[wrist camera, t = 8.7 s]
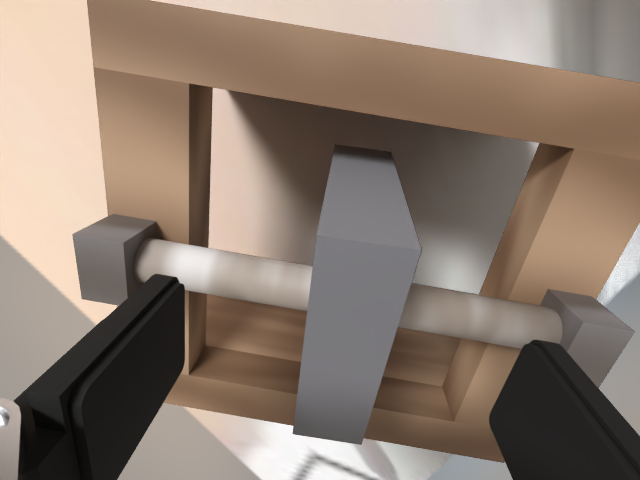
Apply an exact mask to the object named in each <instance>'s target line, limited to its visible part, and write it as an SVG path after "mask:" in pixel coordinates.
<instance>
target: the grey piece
mask: <svg viewBox="0 0 640 480" xmlns="http://www.w3.org/2000/svg"><path fill="white" fill-rule="evenodd" d="M420 253H421V247H420V243H419V240H418V237H417V234H416V231H415V227H414V224H413V221H412V218H411V215H410V212H409V208H408V205H407V202H406V199H405V196H404V193H403V189H402V186H401V183H400V180H399V177H398V174H397V170H396V167H395V164H394V161H393V158H392V154H391V152H387V151H380V150H372V149H365V148H357V147H350V146H342V145H335V148H334V153H333V158H332V162H331V167H330V172H329V177H328V182H327V186H326V191H325V196H324V201H323V206H322V210H321V215H320V220H319V225H318V229H317V234H316V242H315V250H314V259H313V267H312V276H311V284H310V293H309V301H308V309H307V318H306V326H305V335H304V343H303V352H302V360H301V368H300V377H299V385H298V394H297V402H296V411H295V419H294V427H293V434H296V435H302V436H309V437H315V438H322V439H328V440H334V441H341V442H347V443H354V444H360V445H361V444H362V441H363V438H364V435H365V431H366V428H367V425H368V422H369V419H370V415H371V412H372V409H373V406H374V402H375V399H376V396H377V393H378V389H379V386H380V383H381V380H382V376H383V373H384V370H385V367H386V364H387V360H388V357H389V354H390V351H391V347H392V344H393V341H394V338H395V334H396V331H397V328H398V325H399V321H400V318H401V315H402V312H403V309H404V305H405V302H406V299H407V296H408V292H409V289H410V286H411V283H412V279H413V276H414V273H415V270H416V266H417V263H418V260H419V257H420Z"/></svg>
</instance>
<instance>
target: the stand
mask: <svg viewBox="0 0 640 480" xmlns="http://www.w3.org/2000/svg"><path fill="white" fill-rule="evenodd" d="M87 5H88V15H89V26H90V36H91V46H92V56H93V66H94V77H95V87H96V97H97V107H98V117H99V128H100V138H101V148H102V158H103V168H104V178H105V189H106V199H107V209H108V217H106V218H104V219H102V220H100V221H98V222H96V223H94V224H92V225H90V226H88V227H86V228H84V229H82V230H80V231H78V232H76V233H74V234H73V241H74V248H75V255H76V262H77V269H78V275H79V282H80V289H81V296H82V299H85V300H90V301H96V302H102V303H108V304H113V305H117V307H118V306H119V305H121V304H122V303H123V302H124V301H125V300H126V299H127V298H128V297H129V296H130V295H132V294H133V293H134V292H135V291H136V290H137V289H138V288H139V287H140V286H141V285H142V284H144V283H145V282H146V281H147V280H148V279H149V278H150V277H151V276H152V275H154V274H162V275H167V276H173V277H177V278H178V280H179V283H182V284H184V286H185V363H184V367H183V370H182V372H181V374H180V376H179V377H178V379H177V381H176V382H175V384H174V386H173V387H172V389H171V391H170V392H169V394H168V396H167V397H166V399H165V401H164V402H163V403H168V404H174V405H179V406H185V407H190V408H196V409H202V410H207V411H213V412H219V413H224V414H230V415H236V416H241V417H247V418H253V419H259V420H264V421H270V422H276V423H281V424H287V425H293V426H294V419H295V411H296V402H297V394H298V385H299V377H300V368H301V360H302V352H303V343H304V335H305V326H306V318H307V309H308V301H309V293H310V284H311V276H312V267H313V266H309V265H304V264H298V263H292V262H286V261H281V260H275V259H269V258H263V257H257V256H252V255H246V254H240V253H234V252H228V251H223V250H217V249H211V248H208V239H209V201H210V164H211V127H212V90H213V88H219V89H225V90H231V91H237V92H243V93H249V94H255V95H261V96H267V97H272V98H278V99H284V100H290V101H296V102H302V103H308V104H314V105H320V106H326V107H331V108H337V109H343V110H349V111H355V112H361V113H367V114H373V115H379V116H384V117H390V118H396V119H402V120H408V121H414V122H420V123H426V124H432V125H438V126H443V127H449V128H455V129H461V130H467V131H473V132H479V133H485V134H491V135H497V136H502V137H508V138H514V139H520V140H526V141H532V142H538V143H539V146H538V148H537V151H536V153H535V156H534V158H533V161H532V163H531V166H530V168H529V171H528V173H527V176H526V178H525V181H524V183H523V186H522V188H521V191H520V193H519V196H518V198H517V201H516V203H515V206H514V208H513V211H512V213H511V216H510V218H509V221H508V223H507V226H506V228H505V231H504V233H503V236H502V238H501V241H500V243H499V246H498V248H497V251H496V253H495V256H494V258H493V261H492V263H491V266H490V268H489V271H488V273H487V276H486V278H485V281H484V283H483V286H482V288H481V291H480V293H479V295H477V294H471V293H466V292H460V291H454V290H448V289H443V288H437V287H431V286H425V285H419V284H414V283H411V286H410V289H409V292H408V296H407V299H406V302H405V305H404V309H403V312H402V315H401V318H400V321H399V325H398V328H397V331H396V334H395V338H394V341H393V344H392V347H391V351H390V354H389V357H388V360H387V364H386V367H385V370H384V373H383V376H382V380H381V383H380V386H379V389H378V393H377V396H376V399H375V402H374V406H373V409H372V412H371V415H370V419H369V422H368V425H367V428H366V431H365V435H364V438H366V439H372V440H378V441H383V442H389V443H395V444H400V445H406V446H412V447H417V448H423V449H429V450H434V451H440V452H446V453H451V454H458V455H463V456H469V457H474V458H480V459H486V460H492V461H497V462H503V463H504V462H505V460H504V458H503V455H502V453H501V451H500V449H499V446H498V444H497V442H496V439H495V437H494V435H493V432H492V430H491V428H490V424H489V415H490V412H491V410H492V408H493V406H494V404H495V402H496V400H497V398H498V396H499V394H500V392H501V390H502V388H503V386H504V384H505V382H506V380H507V378H508V376H509V374H510V372H511V370H512V368H513V366H514V364H515V362H516V360H517V358H518V356H519V354H520V352H521V349H522V348H523V346H524V345H525V344H529V343H530V342H531V341H532V340H542V341H548V342H553V343H558V344H560V345H561V346H562V347H563V348H564V349H565V350H566V352H567V353H568V354H569V355H570V356H571V357H572V358H573V360H574V361H575V362H576V363H577V364H578V365H579V367H580V368H581V369H582V370H583V371H584V372H585V374H586V375H587V376H588V377H589V378H590V379H591V380H592V382H593V383H594V384H595V385H596V386H597V387H598V388H599V386H600V385H601V383H602V382H603V380H604V379H605V377H606V376H607V374H608V373H609V371H610V369H611V368H612V366H613V365H614V363H615V362H616V360H617V359H618V357H619V356H620V354H621V353H622V351H623V349H624V348H625V346H626V345H627V343H628V342H629V340H630V339H631V337H632V336H633V334H634V332H635V331H634V330H633V329H631V328H630V327H629V326H628V325H626V324H625V323H624V322H623V321H621V320H620V319H619V318H618V317H617V316H615V315H614V314H613V313H612V312H610V311H609V310H608V309H607V308H605V307H604V306H603V305H602V304H601V303H599V302H598V301H597V300H596V299H597V297H598V295H599V294H600V292H601V290H602V288H603V286H604V285H605V283H606V281H607V279H608V278H609V276H610V274H611V272H612V271H613V269H614V267H615V265H616V263H617V262H618V260H619V258H620V256H621V255H622V253H623V251H624V249H625V247H626V246H627V244H628V242H629V240H630V239H631V237H632V235H633V233H634V232H635V230H636V228H637V226H638V224H639V223H640V83H638V82H632V81H626V80H620V79H614V78H608V77H603V76H597V75H591V74H585V73H579V72H573V71H567V70H561V69H555V68H549V67H543V66H537V65H531V64H525V63H519V62H513V61H507V60H501V59H495V58H489V57H483V56H478V55H472V54H466V53H460V52H454V51H448V50H442V49H436V48H430V47H424V46H418V45H412V44H406V43H400V42H394V41H388V40H382V39H376V38H370V37H364V36H359V35H353V34H347V33H341V32H335V31H329V30H323V29H317V28H311V27H305V26H299V25H293V24H287V23H281V22H275V21H269V20H263V19H257V18H251V17H245V16H239V15H234V14H228V13H222V12H216V11H210V10H204V9H198V8H192V7H186V6H180V5H174V4H168V3H162V2H156V1H150V0H87Z"/></svg>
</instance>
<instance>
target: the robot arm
mask: <svg viewBox="0 0 640 480" xmlns="http://www.w3.org/2000/svg"><path fill="white" fill-rule="evenodd" d="M184 363H185V286H184V284H182V283H179V280H178V278H177V277H173V276H167V275H162V274H154V275H152V276H151V277H150V278H149V279H148V280H147V281H146V282H145V283H144V284H142V285H141V286H140V287H139V288H138V289H137V290H136V291H135V292H134V293H133V294H132V295H130V296H129V297H128V298H127V299H126V300H125V301H124V302H123V303H122V304H121V305H119V306H118V307H117V308H116V309H115V310H114V311H113V312H112V313H111V314H110V315H109V316H107V317H106V318H105V319H104V320H102V321H101V322H100V323H99V324H97V325H96V326H95V327H94V328H93V329H92V330H91V331H90V332H89V333H88V334H86V335H85V336H84V337H83V338H82V339H81V340H80V341H79V342H78V343H77V344H76V345H74V346H73V347H72V348H71V349H70V350H69V351H68V352H67V353H66V354H65V355H63V356H62V357H61V358H60V359H59V360H58V361H57V362H56V363H55V364H54V365H52V366H51V367H50V368H49V369H48V370H47V371H46V372H45V373H44V374H43V375H42V376H40V377H39V378H38V379H37V380H36V381H35V382H34V383H33V384H32V385H31V386H29V387H28V388H27V389H26V390H25V391H24V392H23V393H22V394H21V395H20V396H19V397H17V398H16V399H15V400H14V401H12V400H8V399H4V398H0V480H117V479H118V477H119V475H120V474H121V472H122V470H123V469H124V467H125V465H126V464H127V462H128V460H129V459H130V457H131V455H132V454H133V452H134V451H135V449H136V447H137V446H138V444H139V442H140V441H141V439H142V437H143V436H144V434H145V432H146V431H147V429H148V427H149V425H150V424H151V422H152V421H153V419H154V417H155V416H156V414H157V412H158V411H159V409H160V407H161V406H162V404H163V402H164V401H165V399H166V397H167V396H168V394H169V392H170V391H171V389H172V387H173V386H174V384H175V382H176V381H177V379H178V377H179V376H180V374H181V372H182V370H183V367H184ZM489 424H490V428H491V430H492V432H493V435H494V437H495V439H496V442H497V444H498V446H499V449H500V451H501V453H502V455H503V458H504V460H505V462H506V464H507V467H508V469H509V471H510V474H511V476H512V478H513V480H640V436H639V435H638V434H637V433H636V431H635V430H634V429H633V428H632V427H631V426H630V424H629V423H628V422H627V421H626V420H625V419H624V418H623V416H622V415H621V414H620V413H619V412H618V411H617V410H616V409H615V407H614V406H613V405H612V404H611V402H610V401H609V400H608V399H607V398H606V397H605V396H604V394H603V393H602V392H601V391H600V390H599V389H598V387H597V386H596V385H595V384H594V383H593V382H592V380H591V379H590V378H589V377H588V376H587V375H586V374H585V372H584V371H583V370H582V369H581V368H580V367H579V365H578V364H577V363H576V362H575V361H574V360H573V358H572V357H571V356H570V355H569V354H568V353H567V352H566V350H565V349H564V348H563V347H562V346H561V345H560V344H558V343H553V342H548V341H542V340H532V341H531V342H530V343H529V344H525V345H524V346H523V348H522V349H521V352H520V354H519V356H518V358H517V360H516V362H515V364H514V366H513V368H512V370H511V372H510V374H509V376H508V378H507V380H506V382H505V384H504V386H503V388H502V390H501V392H500V394H499V396H498V398H497V400H496V402H495V404H494V406H493V408H492V410H491V412H490V415H489Z"/></svg>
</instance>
